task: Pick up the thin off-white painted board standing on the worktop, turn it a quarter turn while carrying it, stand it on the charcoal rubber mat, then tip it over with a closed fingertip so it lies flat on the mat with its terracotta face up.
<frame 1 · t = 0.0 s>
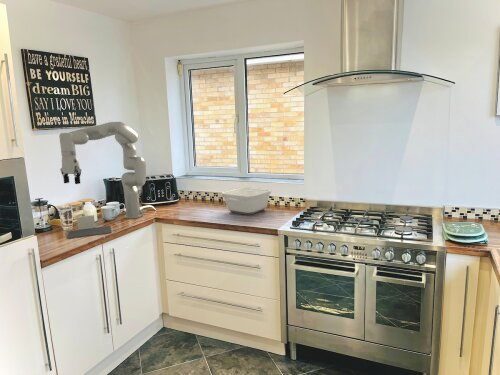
hand: (72, 183, 219), 31 cm above the countertop, tool pointing down, fingers open, 9 cm apart
white plastic tub: (247, 211, 267), on the countertop
mat: (89, 232, 228), on the countertop
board: (86, 228, 237), on the countertop
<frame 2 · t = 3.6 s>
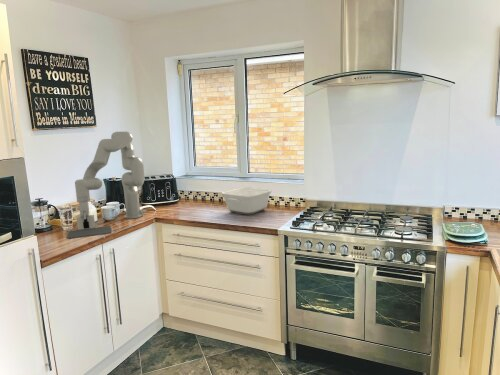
hand: (86, 227, 237), 1 cm above the countertop, tool pointing down, fingers closed on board, 2 cm apart
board: (86, 228, 237), on the countertop, touching gripper
everything else where it was.
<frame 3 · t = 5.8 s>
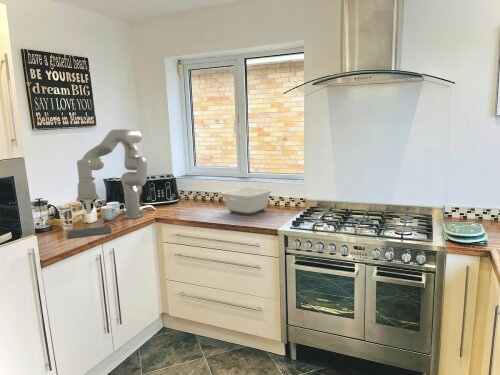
hand: (89, 209, 226), 14 cm above the countertop, tool pointing down, fingers closed on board, 2 cm apart
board: (89, 211, 226), point 13 cm above the countertop, touching gripper
everything else where it was.
when the fingers open (2 cm above the countertop, at t = 8.1 s): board stays where it is, resting on mat.
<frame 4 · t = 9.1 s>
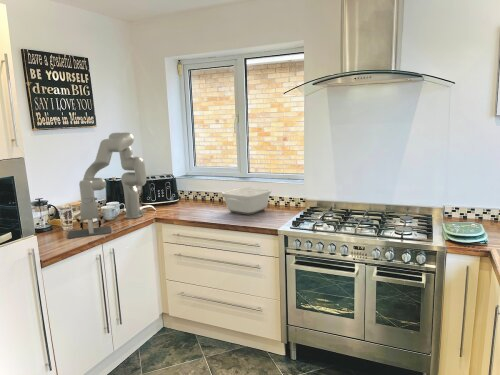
hand: (91, 227, 228), 3 cm above the countertop, tool pointing down, fingers open, 9 cm apart
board: (91, 231, 228), point 1 cm above the countertop, touching mat
everything else where it was.
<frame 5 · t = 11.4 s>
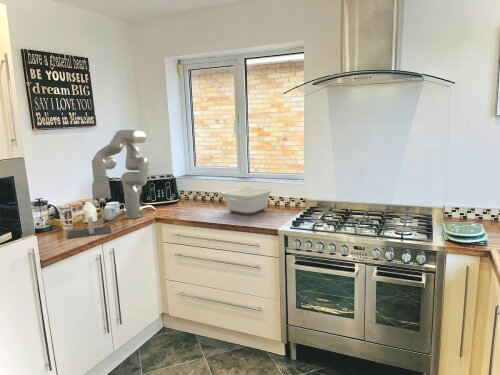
hand: (102, 208, 228), 14 cm above the countertop, tool pointing down, fingers closed
nothing on the countertop moved.
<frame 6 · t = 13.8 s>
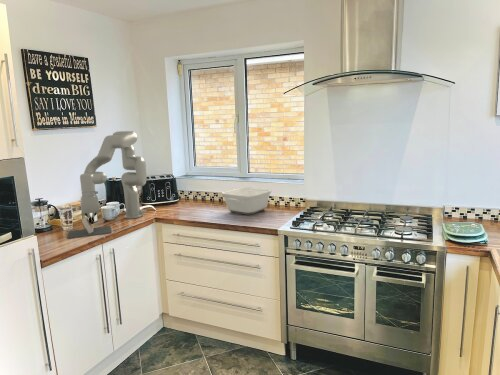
hand: (92, 223, 228), 5 cm above the countertop, tool pointing down, fingers closed
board: (91, 230, 228), point 1 cm above the countertop, tilted 21°, touching mat
everything else where it was.
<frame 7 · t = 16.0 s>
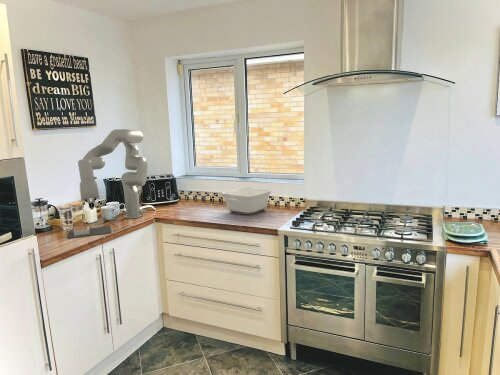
hand: (92, 208, 229), 14 cm above the countertop, tool pointing down, fingers closed
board: (88, 229, 227), point 2 cm above the countertop, tilted 90°, touching mat
everything else where it was.
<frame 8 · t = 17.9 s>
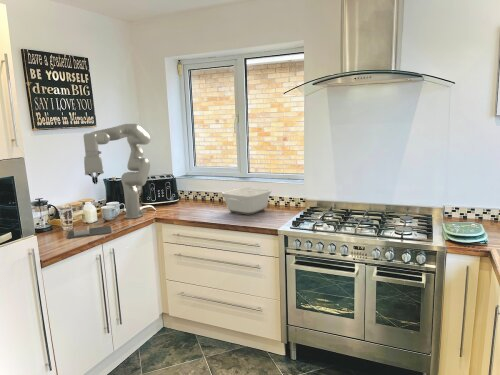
hand: (95, 183, 229), 29 cm above the countertop, tool pointing down, fingers closed
nothing on the countertop moved.
at the end: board tilted 90°; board inside the target area (0.4 cm from its centre), point 1.8 cm above the countertop; the gripper is holding nothing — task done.
